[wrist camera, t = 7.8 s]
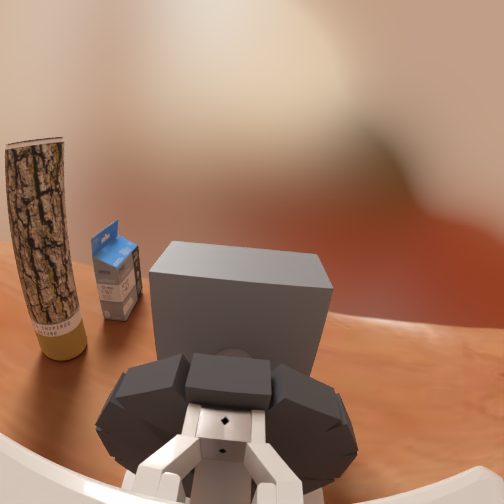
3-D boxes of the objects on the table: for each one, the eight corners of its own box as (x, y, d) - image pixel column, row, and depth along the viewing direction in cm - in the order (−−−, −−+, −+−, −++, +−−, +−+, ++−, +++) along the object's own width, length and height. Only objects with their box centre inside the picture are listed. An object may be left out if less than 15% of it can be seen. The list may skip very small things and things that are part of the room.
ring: (129, 485, 15) (64, 358, 10) (135, 466, 17) (83, 332, 12) (316, 503, 15) (399, 390, 10) (314, 483, 17) (384, 361, 12)
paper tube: (94, 354, 30) (68, 136, 21) (47, 369, 26) (2, 144, 17) (81, 326, 35) (60, 138, 26) (39, 338, 30) (7, 145, 21)
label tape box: (126, 322, 38) (116, 239, 33) (101, 318, 37) (89, 237, 33) (143, 292, 46) (139, 220, 41) (121, 290, 46) (115, 219, 41)
